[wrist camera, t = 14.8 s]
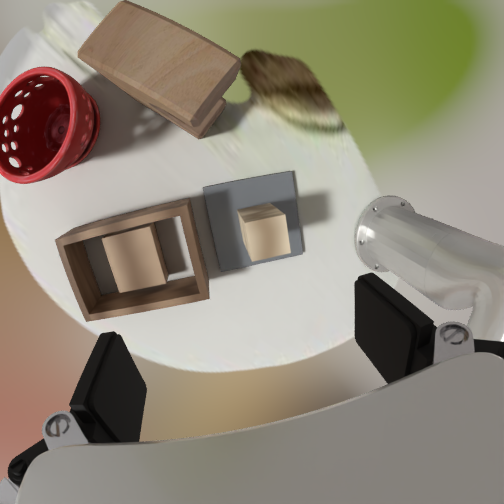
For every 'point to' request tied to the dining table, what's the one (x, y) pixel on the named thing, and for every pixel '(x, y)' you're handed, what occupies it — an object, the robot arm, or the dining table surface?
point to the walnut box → (133, 263)
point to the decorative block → (162, 65)
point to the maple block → (264, 231)
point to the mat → (242, 196)
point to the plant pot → (46, 125)
